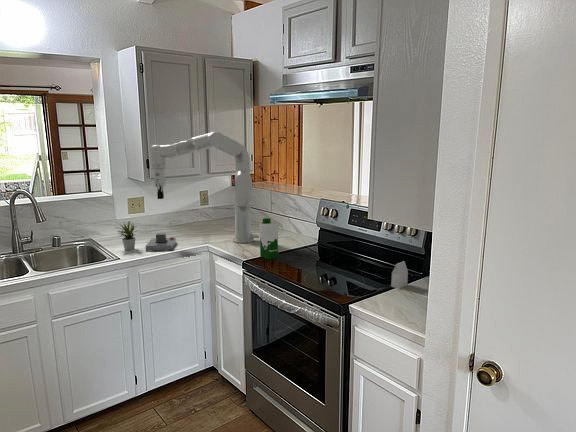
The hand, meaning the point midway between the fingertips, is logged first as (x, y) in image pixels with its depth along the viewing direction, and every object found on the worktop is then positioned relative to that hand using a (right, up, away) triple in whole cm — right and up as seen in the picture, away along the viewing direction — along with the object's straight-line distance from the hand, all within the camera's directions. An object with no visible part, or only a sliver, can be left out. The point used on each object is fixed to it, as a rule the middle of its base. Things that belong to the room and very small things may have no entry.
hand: (160, 198), depth 248 cm
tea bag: (+120, -40, -68) cm, 144 cm away
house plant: (-17, -29, -5) cm, 34 cm away
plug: (+1, -28, -1) cm, 28 cm away
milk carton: (+64, -32, -24) cm, 75 cm away
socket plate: (+1, -28, -1) cm, 28 cm away
